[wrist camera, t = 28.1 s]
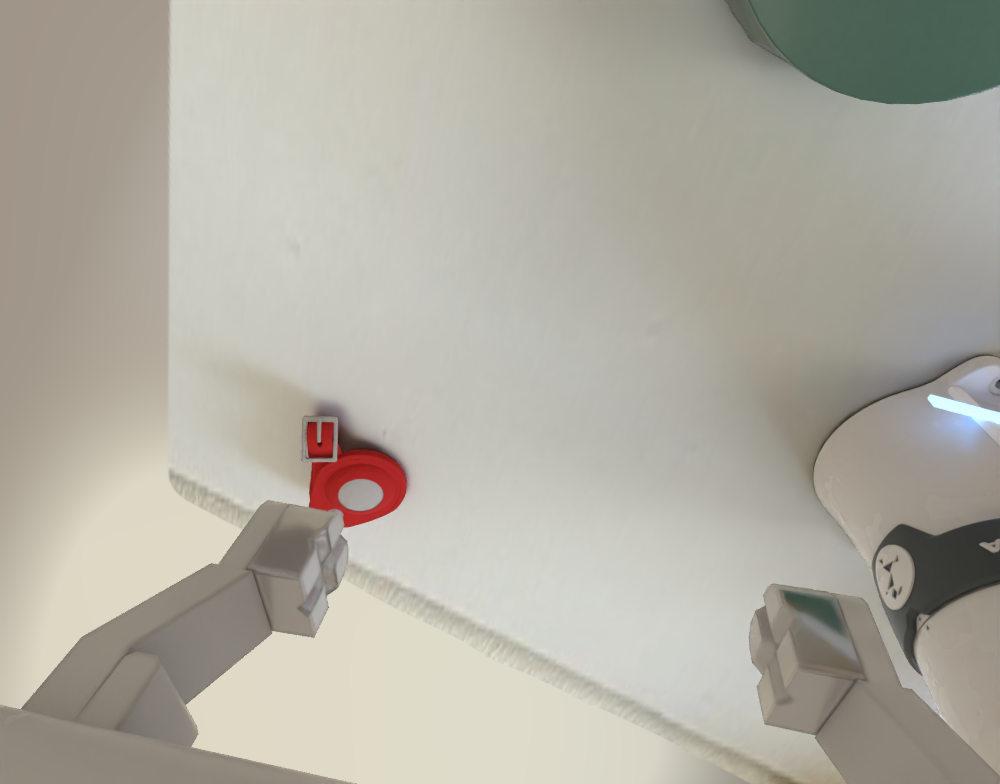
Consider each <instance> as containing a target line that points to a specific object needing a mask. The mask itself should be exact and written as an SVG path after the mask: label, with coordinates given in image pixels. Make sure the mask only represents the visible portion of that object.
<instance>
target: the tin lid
mask: <svg viewBox="0 0 1000 784" xmlns="http://www.w3.org/2000/svg"><path fill="white" fill-rule="evenodd" d="M746 2H747V4H748V6H749V8H750V10H751V12H752V14H753V16H754V18H755V20H756V23H757V24H758V26H759V27H760V29H761V30H762V32H763V33H764V34H765V36H766V37H767V39H768V40H769V42H770V43H771V45H772V46H773V47H774V48H775V49H776V50H777V51H778V52H779V53H780V54H781V55H782V56H783V57H784V58H785V59H786V60H787V61H788V62H789V64H791V65H792V66H793V67H795V68H796V69H797V70H799V71H800V72H802V73H803V74H804V75H806V76H807V77H808V78H810V79H811V80H813V81H815V82H817V83H819V84H821V85H823V86H825V87H827V88H829V89H831V90H833V91H836V92H839V93H842V94H845V95H848V96H851V97H855V98H858V99H861V100H867V101H874V102H880V103H887V104H922V103H930V102H939V101H948V100H952V99H956V98H960V97H965V96H969V95H973V94H977V93H981V92H984V91H987V90H989V89H992V88H995V87H998V86H1000V0H746Z"/></svg>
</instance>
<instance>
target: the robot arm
mask: <svg viewBox="0 0 1000 784" xmlns="http://www.w3.org/2000/svg"><path fill="white" fill-rule="evenodd" d="M999 379H1000V358H999V357H995V356H988V355H986V356H979V357H976V358H973V359H970V360H968V361H966V362H964V363H962V364H961V365H959V366H957V367H956V368H954V369H952V370H951V371H949V372H948V373H946V374H944V375H943V376H941V377H940V378H938V379H937V380H935V381H933V382H931V383H929V384H926V385H923V386H920V387H917V388H914V389H911V390H908V391H904V392H901V393H898V394H895V395H892V396H889V397H887V398H885V399H882V400H880V401H878V402H876V403H874V404H872V405H870V406H868V407H866V408H864V409H863V410H861V411H859V412H858V413H856V414H855V415H853V416H852V417H851V418H849V419H848V420H847V421H845V422H844V423H843V424H842V425H841V426H840V427H839V428H838V429H837V430H836V431H835V432H834V433H833V434H832V435H831V436H830V437H829V438H828V440H827V441H826V442H825V444H824V445H823V447H822V449H821V451H820V452H819V455H818V457H817V459H816V463H815V466H814V473H813V482H814V488H815V491H816V494H817V496H818V498H819V500H820V502H821V503H822V505H823V506H824V507H825V508H826V510H827V511H828V512H829V513H830V514H831V515H832V516H833V517H834V518H835V520H836V521H837V522H838V523H839V524H840V526H841V527H842V528H843V529H844V531H845V532H846V533H847V535H848V536H849V538H850V539H851V540H852V542H853V543H854V545H855V546H856V548H857V549H858V551H859V552H860V554H861V555H862V557H863V558H864V560H865V561H866V563H867V565H868V566H869V568H870V569H871V571H872V573H873V575H874V579H875V583H876V586H877V590H878V593H879V596H880V599H881V602H882V605H883V608H884V610H885V613H886V615H887V617H888V619H889V622H890V624H891V626H892V628H893V631H894V633H895V635H896V637H897V639H898V641H899V643H900V646H901V648H902V650H903V652H904V654H905V656H906V658H907V660H908V662H909V663H910V665H911V666H912V667H913V668H914V669H915V670H916V671H917V672H918V673H919V674H920V675H922V676H923V677H924V679H925V682H926V684H927V686H928V688H929V691H930V693H931V695H932V698H933V700H934V702H935V704H936V707H937V709H938V711H939V714H940V716H941V718H942V719H941V718H940V717H939V716H938V715H937V714H936V713H935V712H934V711H933V710H932V709H931V708H930V707H929V706H928V705H927V704H926V703H925V702H924V701H923V700H922V699H921V698H920V697H919V696H918V695H917V694H916V693H915V692H914V691H913V690H912V689H907V688H903V687H902V685H901V683H900V681H899V678H898V676H897V673H896V671H895V669H894V666H893V664H892V661H891V659H890V657H889V654H888V652H887V649H886V647H885V644H884V642H883V640H882V637H881V635H880V632H879V630H878V628H877V625H876V623H875V620H874V618H873V616H872V613H871V611H870V608H869V606H868V604H867V603H866V602H865V600H864V599H863V598H859V597H853V596H847V595H841V594H835V593H829V592H826V591H819V590H812V589H806V588H799V587H793V586H786V585H779V584H771V585H770V586H768V587H767V589H766V591H765V593H764V595H763V597H764V601H765V606H764V607H762V608H760V609H758V610H756V611H755V614H754V616H753V618H752V621H751V625H750V632H749V646H750V654H751V659H752V663H753V664H754V665H755V667H756V668H757V669H758V670H759V671H760V673H761V674H762V675H763V676H762V678H761V680H760V682H759V683H758V685H757V690H758V695H759V700H760V705H761V710H762V715H763V719H764V724H766V725H771V726H775V727H780V728H785V729H789V730H794V731H798V732H803V733H807V734H812V735H816V737H815V739H816V740H817V742H818V743H819V744H820V746H821V747H822V749H823V750H824V751H825V753H826V754H827V756H828V757H829V759H830V760H831V761H832V763H833V764H834V766H835V767H836V768H837V770H838V771H839V773H840V774H841V776H842V777H843V778H844V780H845V781H846V783H847V784H1000V382H998V383H996V382H997V381H998V380H999ZM343 528H344V521H343V517H342V514H339V513H335V512H329V511H324V510H319V509H314V508H308V507H303V506H298V505H293V504H287V503H281V502H275V501H270V500H268V501H266V502H265V503H263V504H262V505H261V506H260V507H259V508H258V509H257V511H256V512H255V514H254V515H253V516H252V518H251V519H250V521H249V522H248V523H247V525H246V526H245V528H244V529H243V530H242V532H241V533H240V535H239V536H238V537H237V539H236V540H235V542H234V543H233V544H232V546H231V547H230V549H229V550H228V551H227V553H226V554H225V556H224V557H223V559H222V560H221V561H220V563H219V564H212V563H211V564H209V565H207V566H206V567H204V568H202V569H201V570H199V571H197V572H195V573H193V574H192V575H190V576H188V577H187V578H185V579H183V580H181V581H179V582H177V583H176V584H174V585H172V586H170V587H169V588H167V589H165V590H164V591H162V592H160V593H158V594H156V595H155V596H153V597H151V598H149V599H148V600H146V601H144V602H142V603H141V604H139V605H137V606H135V607H134V608H132V609H130V610H128V611H127V612H125V613H123V614H122V615H120V616H118V617H116V618H114V619H113V620H111V621H109V622H107V623H105V624H104V625H102V626H100V627H99V628H97V629H95V630H93V631H92V632H90V633H88V634H86V635H84V636H83V637H81V639H80V640H79V641H78V642H77V643H76V644H75V646H74V647H73V648H72V649H71V650H70V652H69V653H68V654H67V655H66V656H65V657H64V659H63V660H62V661H61V662H60V663H59V664H58V666H57V667H56V668H55V669H54V670H53V672H52V673H51V674H50V675H49V676H48V677H47V679H46V680H45V681H44V682H43V683H42V685H41V686H40V687H39V688H38V689H37V691H36V692H35V693H34V694H33V695H32V696H31V698H30V699H29V700H28V701H27V702H26V703H25V705H24V706H23V707H22V708H21V709H16V708H12V707H7V706H3V705H0V784H355V783H350V782H346V781H341V780H337V779H332V778H327V777H323V776H319V775H314V774H310V773H305V772H301V771H296V770H291V769H287V768H282V767H278V766H274V765H269V764H265V763H260V762H256V761H251V760H247V759H242V758H237V757H233V756H229V755H224V754H219V753H215V752H210V751H205V750H201V749H197V748H192V747H191V746H192V744H193V743H194V741H195V739H196V737H197V735H198V730H197V725H196V724H195V722H194V720H193V718H192V716H191V715H190V713H189V711H188V709H187V707H186V704H187V703H188V702H190V701H191V700H192V699H193V698H195V697H196V696H197V695H198V694H199V693H201V692H202V691H203V690H204V689H205V688H206V687H208V686H209V685H210V684H211V683H213V682H214V681H215V680H216V679H218V678H219V677H220V676H221V675H222V674H224V673H225V672H226V671H227V670H228V669H230V668H231V667H232V666H233V665H234V664H236V663H237V662H238V661H239V660H241V659H242V658H243V657H244V656H245V655H247V654H248V653H249V652H250V651H251V650H253V649H254V648H255V647H256V646H258V645H259V644H260V643H261V642H262V641H263V640H265V639H266V638H267V637H268V636H270V635H271V634H272V631H277V632H282V633H289V634H295V635H302V636H307V637H313V638H314V637H315V635H316V633H317V630H318V628H319V626H320V624H321V622H322V620H323V618H324V616H325V614H326V612H327V610H328V608H329V606H328V601H327V595H328V594H330V593H331V592H333V591H334V590H336V589H337V588H338V587H339V585H340V583H341V580H342V578H343V576H344V573H345V569H346V565H347V562H348V544H347V541H346V540H345V538H344V537H343V536H342V535H341V532H342V530H343Z"/></svg>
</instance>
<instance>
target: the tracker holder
mask: <svg viewBox="0 0 1000 784" xmlns="http://www.w3.org/2000/svg"><path fill="white" fill-rule="evenodd" d="M307 422H308V425H307ZM306 435H307V447H308V456H309V458H307V457H306ZM301 461H302V462H312V472H311V481H310V491H309V495H310V503H309V508H314V509H319V510H324V511H329V512H335V513H339V514H342V517H343V521H344V527H351V526H355V525H359V524H362V523H366V522H369V521H372V520H374V519H377V518H380V517H382V516H384V515H387V514H389V513H390V512H392V511H394V510H395V509H396V508H397V507H398V506H399V505H400V504H401V502H402V501H403V499H404V497H405V493H406V476H405V473H404V471H403V469H402V467H401V466H400V465H399V464H398V463H397V462H396V461H395V460H394V459H392V458H391V457H390V456H388V455H386V454H383V453H380V452H377V451H373V450H363V449H358V450H350V451H346V452H344V451H342V450H341V448H340V446H339V444H338V417H337V416H304V417H303V422H302V458H301Z"/></svg>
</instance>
